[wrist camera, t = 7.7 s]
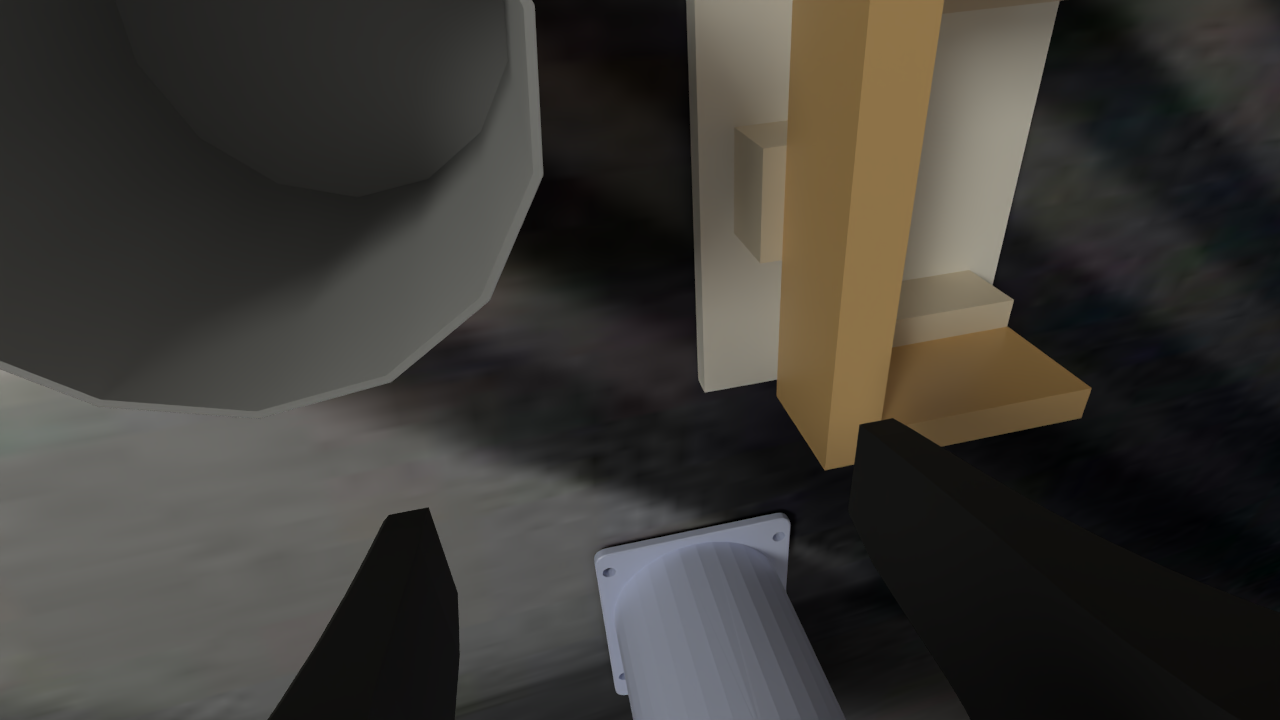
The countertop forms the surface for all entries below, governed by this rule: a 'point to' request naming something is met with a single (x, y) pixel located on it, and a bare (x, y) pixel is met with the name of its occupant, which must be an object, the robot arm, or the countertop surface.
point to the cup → (255, 191)
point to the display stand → (945, 192)
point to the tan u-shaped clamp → (879, 249)
